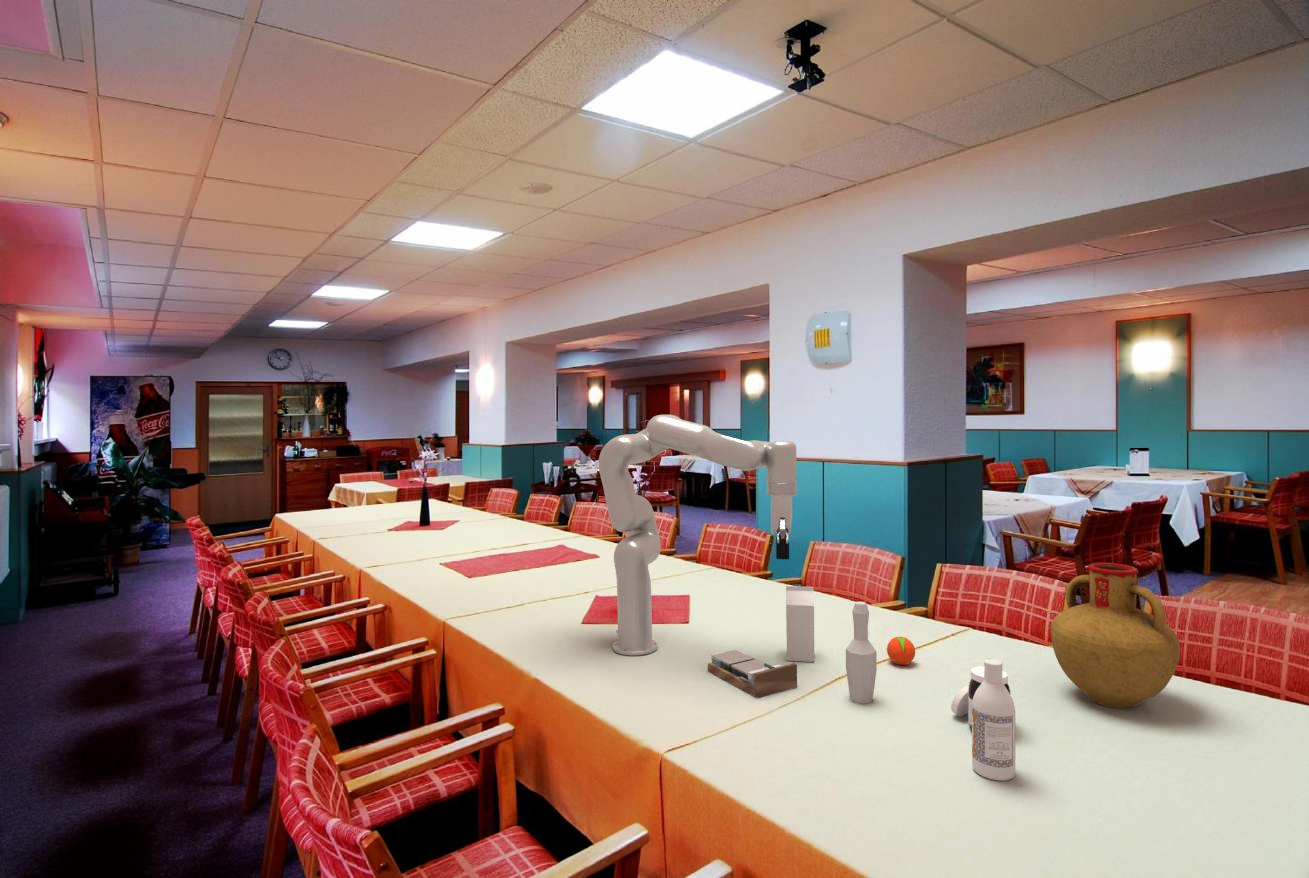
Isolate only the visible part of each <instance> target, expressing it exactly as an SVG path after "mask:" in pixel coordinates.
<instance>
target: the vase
mask: <svg viewBox="0 0 1309 878" xmlns="http://www.w3.org/2000/svg"><path fill="white" fill-rule="evenodd" d="M1087 568H1088V570H1089V574H1082V575H1078V576H1076V577H1073V578H1072V579H1071V581H1070V582H1069V583H1068V584H1067V586H1066V590H1065V601H1066V605H1067V609H1064V610H1063V611H1061V612H1060V613H1058V614H1056V616H1054V618H1053V619H1052V622H1051V625H1050V636H1051V643H1052V645H1051V646H1052V649H1053V652H1054V655H1055V658H1056V660H1057V663H1058V664H1059V666H1060V668H1061V669H1062V671H1063V672H1064V674H1065V675H1066V677H1067V678H1068V679H1069V680H1070V681H1071V682H1072V683H1073V684H1074V685H1075V686H1076V687H1077V688H1078V689H1080V690H1081V691H1082V692H1083V693H1084V694H1086V695H1087V696H1088V698H1090V700H1092V701H1093V702H1095V703H1097V704H1099V705H1102V706H1105V707H1108V708H1109V707H1110V708H1113V709H1132V708H1134V707H1136V706H1138V705H1139V704H1141V703H1143V702H1145V701H1148V700H1150V699H1152V698H1154V697H1157V695H1159V694H1160V693H1161V692H1162V691H1163V690H1164V689H1165V688H1167V685H1168V684H1169V682H1170V681H1171V679H1172V677H1173V675H1174V674H1175V672H1176V669H1177V668H1178V667H1177V666H1178V663H1179V660H1180V653H1181V643H1180V640H1179V638H1178V636H1177V634H1176V632H1175V631H1174V630H1173V629H1172V628H1171V627H1170V626H1169V625H1168V624H1167V623H1166V619H1167V614H1166V610H1165V608H1164V605H1163V603H1162V601H1161V600H1160V599H1159V597H1158V596H1157V595H1156V594H1155V593H1154V592H1153V591H1151V590H1150V589H1148V588H1146V587H1144V586H1143V585H1139V584H1137V574H1138V573H1139V569H1138V568H1137V567H1134V566H1132V565H1128V564H1121V563H1115V562H1094V563H1090V564H1088V565H1087ZM1083 585H1089V602H1088V603H1087V602H1086V603H1081V604H1078V603H1077V597H1076V595H1077V591H1078V589H1079V588H1080V587H1081V586H1083ZM1137 596H1139V597H1141V598H1142V599H1144V600H1145V601H1146V602H1147V603H1148V604H1149V606H1150V607H1151V609H1152V612H1153V614H1151V613H1149V612H1147V611H1144V610H1142V609H1140V608H1137Z"/></svg>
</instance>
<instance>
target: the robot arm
mask: <svg viewBox="0 0 1309 878" xmlns="http://www.w3.org/2000/svg"><path fill="white" fill-rule="evenodd" d="M669 449H670V450H673V451H677V452H680V453H681V452H682V453H685V454H687V455H692V456H694V457H698V458H700V459H702V460H707V461H709V462H712V463H714V464H717V465H721V466H725V467H728V468H732V469H735V470H739V471H745V472H750V471H754V470H757V469H761V468H762V469H763V468H766V495H767V496H770V529H771V531H770V532H771V534H772V535H775V534H776V536H775V548H776V549H775V552H776V553H775V556H776V557H775V558H776V560H790V543H789V535H791V530H792V522H793V497H794V496H797V495H798V491H797V489H798V487H797V486H798V485H797V484H798V479H797V475H798V474H797V472H798V471H797V445H796V443H795V442H793V441H790V440H775V441H762V440H757V439H756V440H755V439H753V440H743V439H740V438H734V437H731V436H728V435H724V434H721V433H719V432H716V431H714V430H713V429H712V428H711V427H709V426H707V425H704V424H701V423H696V422H692V421H689V420H685V419H681V418H680V417H679V416H677V415H674V414H659V415H655V416H653V417H652V418H651V419H650V420H649V421H648V422H647V425H646V427H645V429H642V430H640V431H639V432H637V433H631V434H628V433H627V434H621V435H618V436H615V437H613V438H612V439H610V440H609V441H607V443H605V445H604V446H603V447H602V449H601V451H600V454H599V455H598V456H599V457H598V470H599V471H598V472H599V476H600V479H601V480H600V481H601V483H602V486H603V487H602V488H603V493H604V497H605V503H606V508H607V511H608V516H609V520H610V524H611V526H612V527H613V529H615V531H617V532H621V533H627V536H626V537H624V538H623V539H621V540H620V541H619V543H617V545H616V546H615V548H614V552H613V563H614V567H615V568H614V570H615V575H616V595H617V599H616V600H617V605H616V606H617V629H616V631H615V633H616V634H617V640H616V641H615V642H614V643H613V644H612V650H613V651H614V652H615V653H617V654H619V655H623V656H624V655H625V656H644V655H648V654H651V653H654V652H655V651H657V650H658V647H659V646H658V642H657V641H656V640H654V639H653V623H652V621H653V620H652V583H651V582H652V581H651V576H650V570H649V565H650V564H652V563H653V562H655V561H656V560H657V559H658V558H659V556H660V554H661V549H662V544H661V539H660V534H659V529H658V525H657V520H656V516H655V512H654V509H653V507H652V504H651V503H650V501H649V500H648V499H647V498H646V497H644V496H642V495H640V494H639V495H638V494H636V490H635V485H634V482H633V478H632V475H631V474H630V472H629V466H631V465H635V464H642V463H644V462H647V461H650V460H651V459H652V458H655V457H656V456H658V455H660V454H661V453H663V452H665V451H666V450H669Z"/></svg>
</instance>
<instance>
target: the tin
mask: <svg viewBox="0 0 1309 878" xmlns="http://www.w3.org/2000/svg"><path fill="white" fill-rule="evenodd" d="M749 656H750V655H748V656H747V654H746V655H745V653H743V652H741V651H739V650H736V649H733V650H730V651H724V652H720V653H715V654H711V663H713V664H715V665H717V666H719V667H721V668H722V669H724V670H726V671H728V672H730V673H731V665H734V664H738V663H742V662H746V661H750V660H753V658H754V657H752V656H750V657H749ZM751 657H752V658H751Z"/></svg>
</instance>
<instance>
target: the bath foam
mask: <svg viewBox="0 0 1309 878" xmlns="http://www.w3.org/2000/svg"><path fill="white" fill-rule="evenodd" d="M983 664H984V665H983V666H984V681H983V682H982V684H981V685H980V686H979V687H978V689H977V690H976V692H975V694H974V697H973V701H972V728H971V757H972V759H971V761H972V763H971V764H972V768H973V770H974V771H975V772H976V774H978V775H980V776H981V777H983V778H986V779H988V780H989V779H990V780H994V781H1001V782H1003V781H1009V780H1012V779H1013V778H1014V777H1015V776H1016V707H1015V703H1014V700H1013V698H1012V695H1011V692H1010V693H1009V692H1008V690H1007V689H1006V687H1005V686H1004V684H1003V683H1002V670H1003V663H1002V661H1000V660H998V659H994V658H993V659H992V658H989V659H987V658H986V659H985V660H984V662H983Z"/></svg>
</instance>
